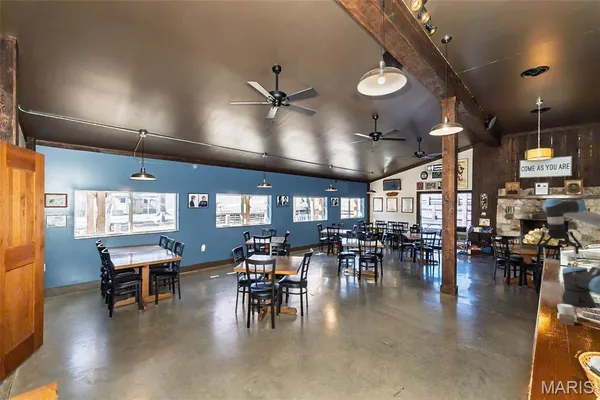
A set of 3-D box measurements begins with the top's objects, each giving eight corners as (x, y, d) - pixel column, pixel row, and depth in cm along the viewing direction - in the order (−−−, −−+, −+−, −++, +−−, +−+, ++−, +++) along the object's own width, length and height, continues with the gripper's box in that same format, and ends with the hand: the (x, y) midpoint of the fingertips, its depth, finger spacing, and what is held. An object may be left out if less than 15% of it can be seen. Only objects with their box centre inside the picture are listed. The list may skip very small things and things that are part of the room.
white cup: (578, 320, 151) (577, 307, 151) (564, 320, 152) (562, 307, 152) (569, 315, 157) (567, 303, 158) (555, 315, 159) (553, 303, 159)
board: (557, 314, 163) (557, 312, 163) (576, 316, 157) (576, 315, 157) (557, 319, 155) (557, 318, 155) (577, 323, 149) (577, 321, 149)
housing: (560, 321, 153) (559, 313, 153) (574, 324, 149) (573, 315, 149) (559, 324, 149) (559, 316, 149) (574, 327, 145) (573, 318, 145)
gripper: (529, 224, 173) (532, 258, 172) (585, 223, 157) (590, 261, 155) (529, 223, 179) (533, 256, 178) (584, 222, 162) (589, 259, 161)
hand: (559, 258), depth 166 cm, fingers open, 13 cm apart
